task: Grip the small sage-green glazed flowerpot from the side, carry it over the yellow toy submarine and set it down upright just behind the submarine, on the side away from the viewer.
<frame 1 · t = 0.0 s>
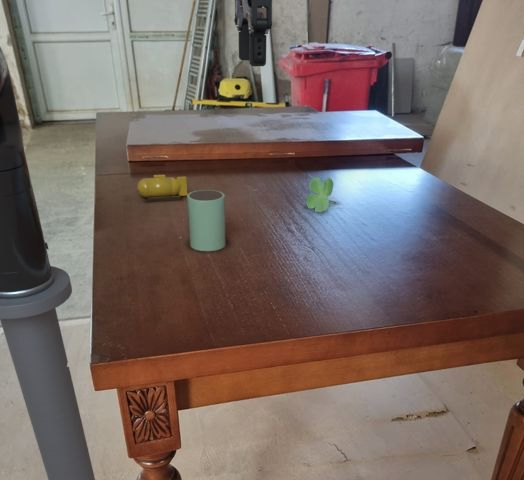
hand: (251, 63, 76), 28 cm above the table, tool pointing down, fingers open, 8 cm apart
yellow toy submarine: (164, 198, 111), on the table
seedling: (324, 209, 108), on the table
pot: (208, 244, 90), on the table
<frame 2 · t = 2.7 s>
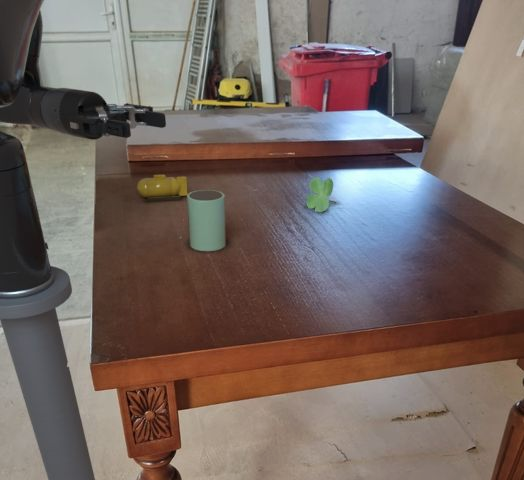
hand: (147, 125, 84), 18 cm above the table, tool horizontal, fingers open, 8 cm apart
nothing on the table moved.
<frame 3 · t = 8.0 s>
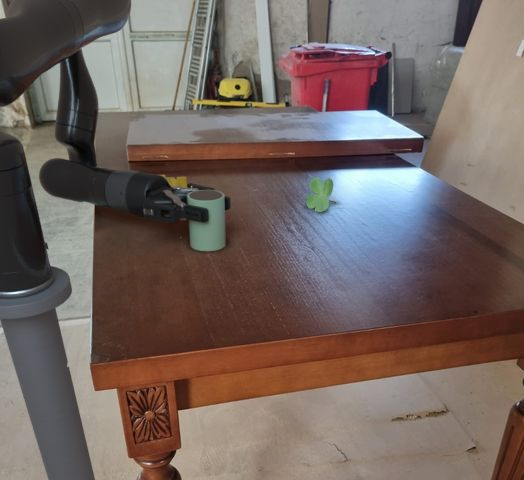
hand: (218, 209, 86), 7 cm above the table, tool horizontal, fingers closed on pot, 6 cm apart
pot: (208, 244, 90), on the table, touching gripper
everything else where it was.
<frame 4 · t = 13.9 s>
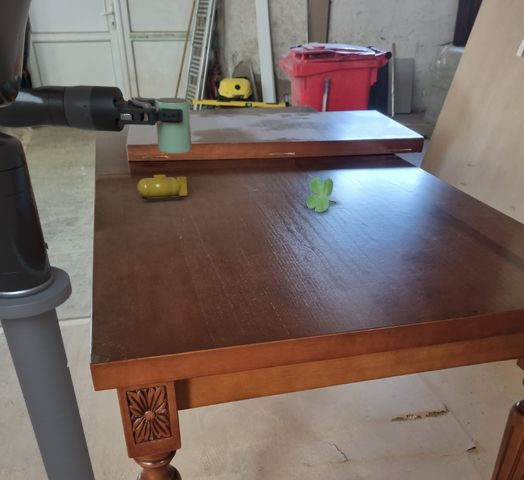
hand: (185, 112, 96), 18 cm above the table, tool horizontal, fingers closed on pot, 6 cm apart
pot: (174, 149, 99), point 12 cm above the table, touching gripper
everything else where it was.
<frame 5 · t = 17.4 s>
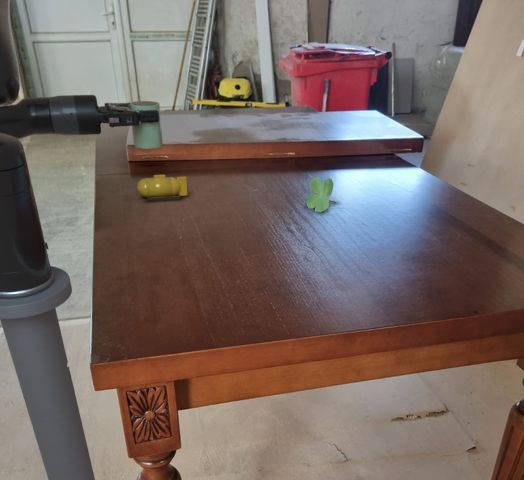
hand: (156, 113, 112), 15 cm above the table, tool horizontal, fingers closed on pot, 6 cm apart
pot: (148, 145, 115), point 8 cm above the table, touching gripper
everything else where it was.
when the fingers open (7 cm above the table, at t = 20.2 s): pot stays where it is, on the table.
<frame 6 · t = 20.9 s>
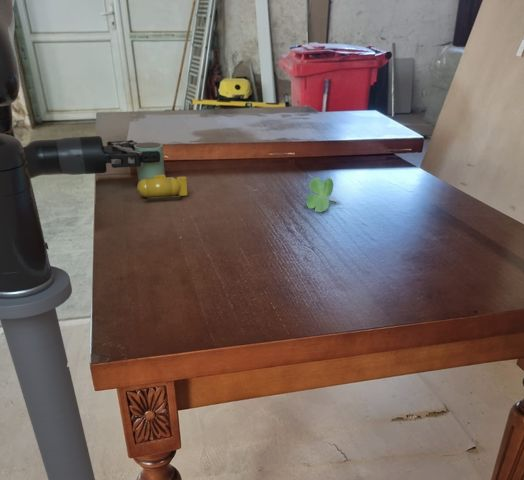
hand: (157, 151, 116), 7 cm above the table, tool horizontal, fingers open, 8 cm apart
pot: (152, 184, 120), on the table
everything else where it was.
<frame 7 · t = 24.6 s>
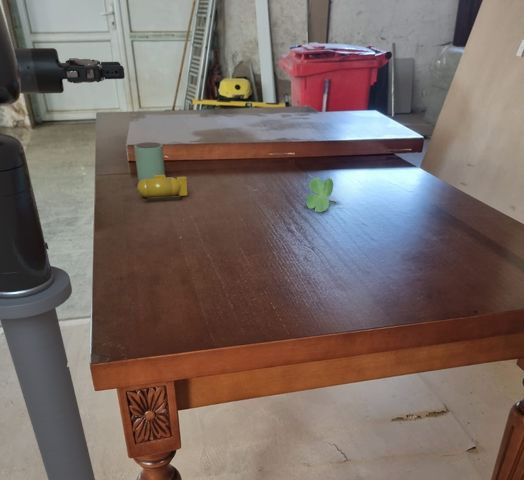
hand: (122, 69, 102), 24 cm above the table, tool horizontal, fingers open, 8 cm apart
nothing on the table moved.
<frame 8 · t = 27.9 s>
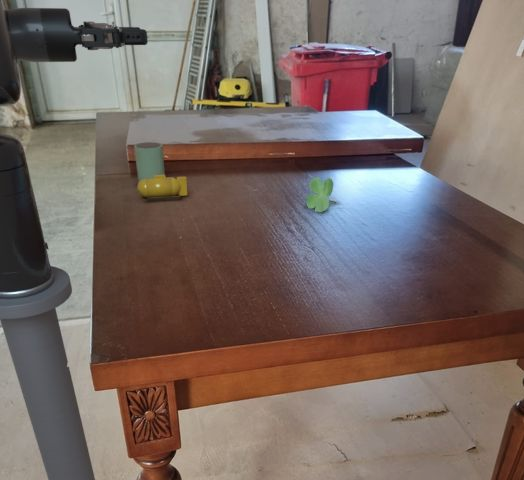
hand: (144, 35, 89), 30 cm above the table, tool horizontal, fingers open, 8 cm apart
nothing on the table moved.
at the end: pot inside the target area on the table beside the yellow toy submarine (1.5 cm from its centre), on the table; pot tilted 0°; the gripper is holding nothing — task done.
